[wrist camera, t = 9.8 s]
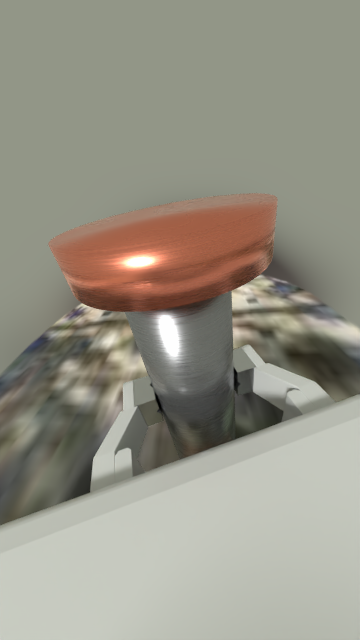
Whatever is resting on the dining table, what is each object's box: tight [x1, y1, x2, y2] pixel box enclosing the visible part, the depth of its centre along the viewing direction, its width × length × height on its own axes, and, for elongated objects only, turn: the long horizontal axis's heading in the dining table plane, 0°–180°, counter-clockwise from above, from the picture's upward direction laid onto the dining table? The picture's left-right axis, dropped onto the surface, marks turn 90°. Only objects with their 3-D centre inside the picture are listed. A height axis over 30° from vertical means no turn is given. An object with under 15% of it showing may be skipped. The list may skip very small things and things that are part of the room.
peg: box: [49, 193, 277, 459], centre depth 11 cm, size 6×6×17 cm
